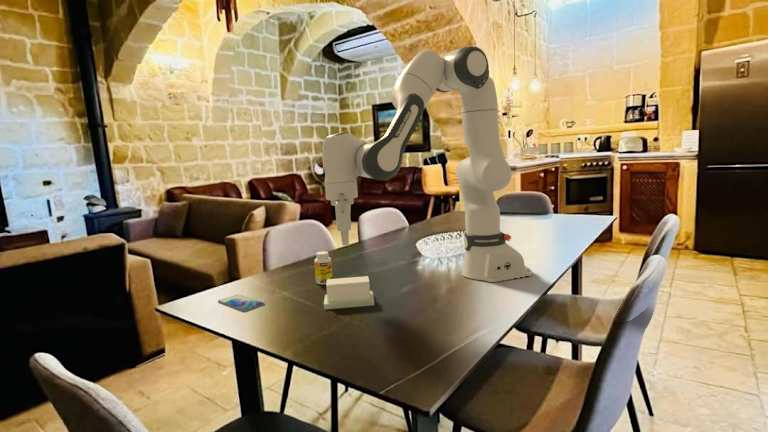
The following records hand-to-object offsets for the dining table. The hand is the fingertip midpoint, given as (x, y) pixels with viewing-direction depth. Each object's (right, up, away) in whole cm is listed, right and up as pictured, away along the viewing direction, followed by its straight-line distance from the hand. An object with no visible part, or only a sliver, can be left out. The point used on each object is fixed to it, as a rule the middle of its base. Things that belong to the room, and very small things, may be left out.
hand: (345, 241), depth 119 cm
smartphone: (-32, -20, +7) cm, 38 cm away
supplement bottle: (-9, -15, +23) cm, 29 cm away
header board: (+1, -18, +3) cm, 18 cm away
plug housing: (+1, -16, +3) cm, 17 cm away
